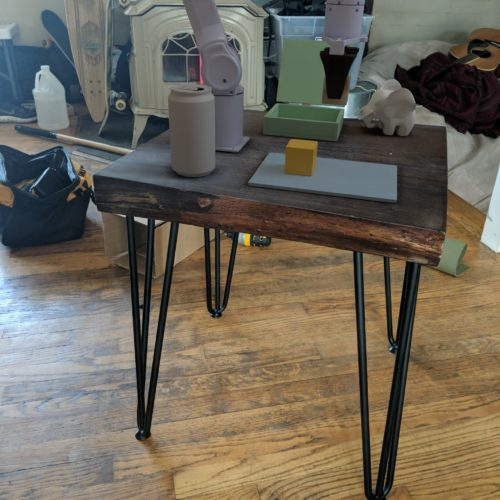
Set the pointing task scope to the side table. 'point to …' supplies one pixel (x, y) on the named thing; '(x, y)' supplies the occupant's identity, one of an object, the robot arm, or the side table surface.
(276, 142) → the side table surface
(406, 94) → the elephant figurine
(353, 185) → the placemat
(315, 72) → the lunchbox lid
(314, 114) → the box
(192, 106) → the beverage can
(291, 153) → the mustard block
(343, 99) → the birch block
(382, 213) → the side table surface
